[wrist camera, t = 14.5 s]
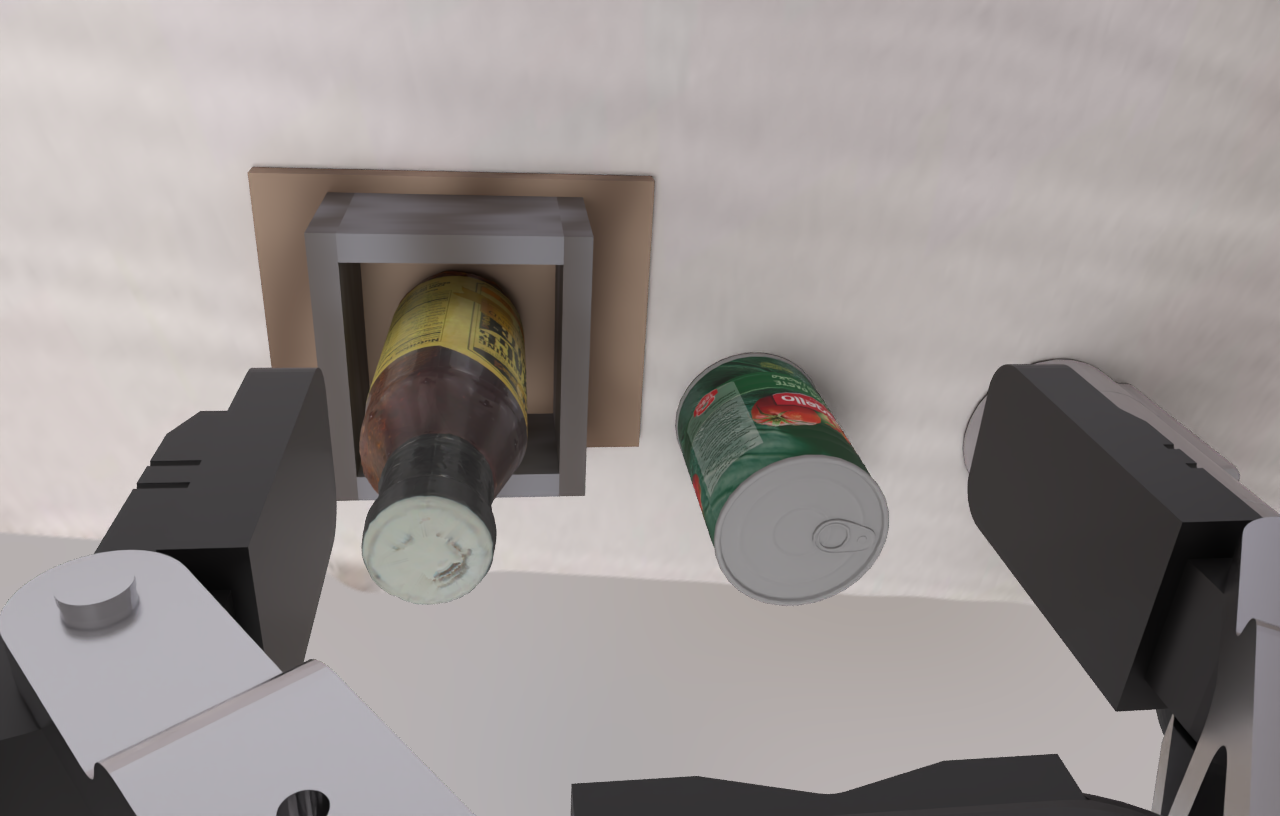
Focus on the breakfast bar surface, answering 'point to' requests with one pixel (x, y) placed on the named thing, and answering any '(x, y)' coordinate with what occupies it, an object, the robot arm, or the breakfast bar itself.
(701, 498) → the canned tomato
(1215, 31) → the breakfast bar surface
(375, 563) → the sauce bottle
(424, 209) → the bottle holder
